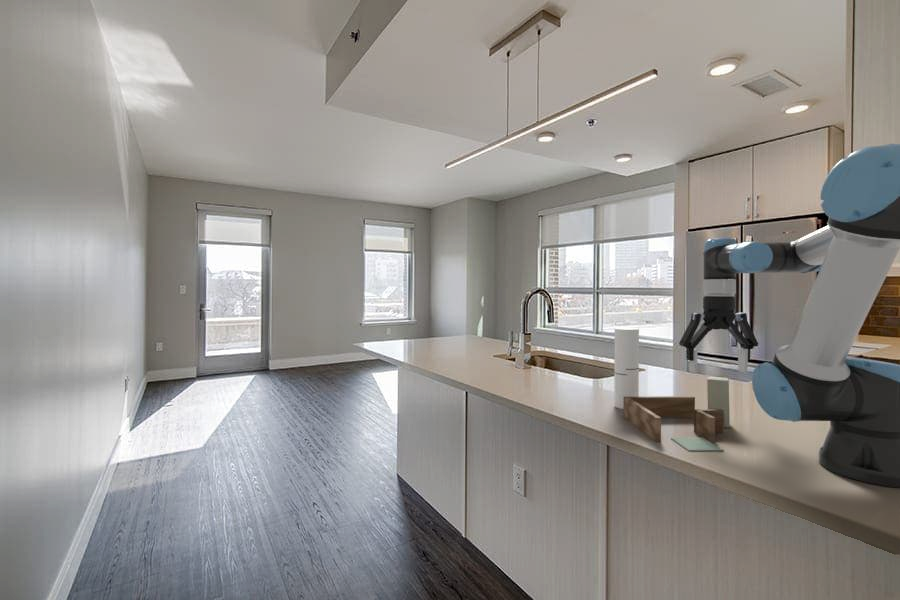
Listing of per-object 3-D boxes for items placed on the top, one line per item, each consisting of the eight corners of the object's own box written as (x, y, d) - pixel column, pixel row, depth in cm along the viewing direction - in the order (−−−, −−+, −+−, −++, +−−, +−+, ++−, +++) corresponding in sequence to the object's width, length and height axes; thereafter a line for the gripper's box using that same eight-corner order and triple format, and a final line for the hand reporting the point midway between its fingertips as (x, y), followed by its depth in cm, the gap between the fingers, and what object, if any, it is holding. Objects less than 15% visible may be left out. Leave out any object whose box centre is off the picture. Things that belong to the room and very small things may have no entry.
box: (729, 423, 118) (729, 377, 117) (729, 428, 114) (730, 380, 114) (707, 420, 121) (707, 375, 120) (706, 425, 117) (707, 378, 116)
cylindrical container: (641, 410, 131) (641, 329, 130) (616, 409, 133) (616, 329, 132) (635, 403, 138) (636, 327, 137) (612, 402, 140) (612, 327, 139)
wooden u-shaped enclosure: (738, 441, 104) (738, 417, 104) (656, 441, 105) (656, 417, 104) (692, 416, 124) (692, 396, 124) (623, 416, 125) (623, 396, 125)
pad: (723, 451, 98) (723, 449, 98) (688, 451, 98) (688, 449, 98) (703, 438, 106) (703, 437, 106) (671, 438, 106) (671, 437, 106)
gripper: (755, 294, 120) (753, 368, 121) (666, 295, 120) (665, 369, 121) (775, 295, 112) (773, 374, 113) (680, 296, 113) (679, 375, 114)
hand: (717, 372), depth 117 cm, fingers open, 13 cm apart
